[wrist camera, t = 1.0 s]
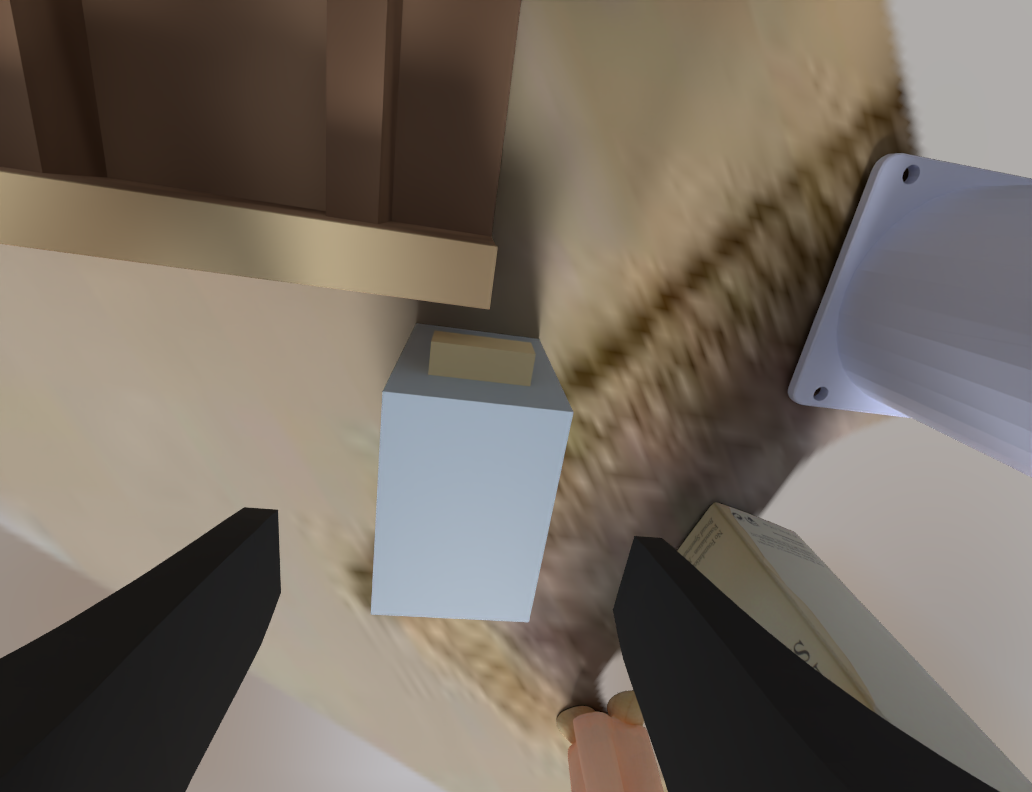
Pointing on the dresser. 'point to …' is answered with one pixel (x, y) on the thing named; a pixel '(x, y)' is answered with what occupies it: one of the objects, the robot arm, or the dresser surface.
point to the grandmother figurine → (610, 748)
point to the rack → (261, 137)
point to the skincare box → (838, 636)
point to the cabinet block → (466, 475)
